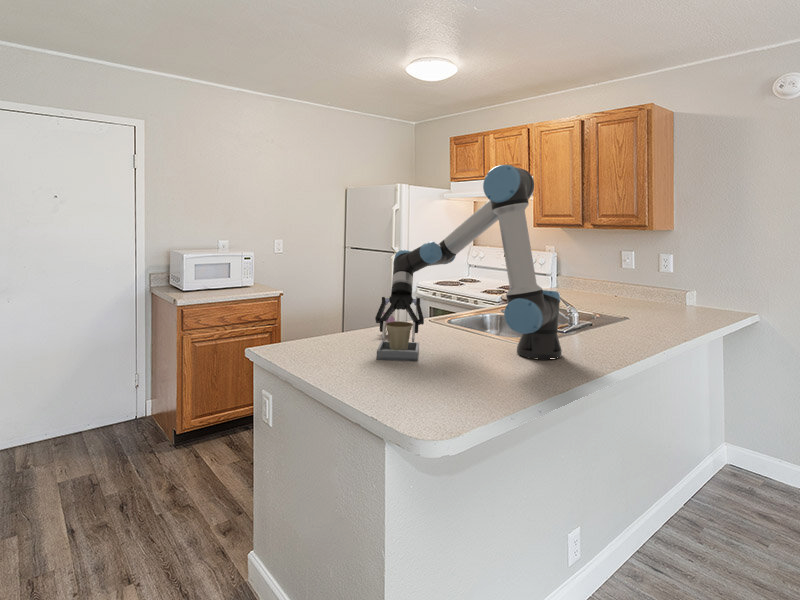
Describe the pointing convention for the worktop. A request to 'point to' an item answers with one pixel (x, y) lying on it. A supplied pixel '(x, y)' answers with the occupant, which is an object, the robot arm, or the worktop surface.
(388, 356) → the tray
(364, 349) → the worktop surface
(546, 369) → the worktop surface
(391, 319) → the lily
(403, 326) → the flower pot
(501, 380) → the worktop surface
